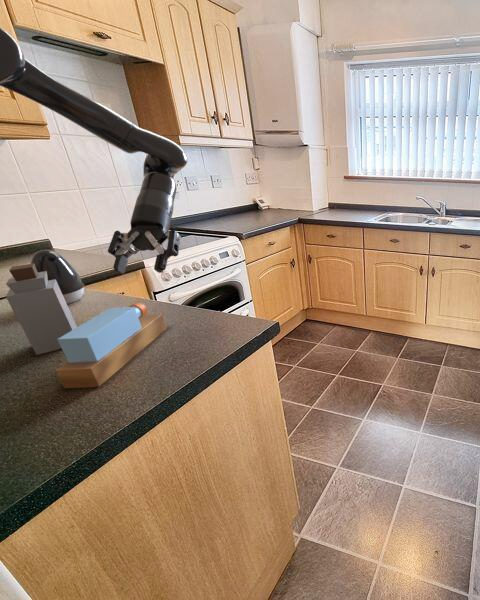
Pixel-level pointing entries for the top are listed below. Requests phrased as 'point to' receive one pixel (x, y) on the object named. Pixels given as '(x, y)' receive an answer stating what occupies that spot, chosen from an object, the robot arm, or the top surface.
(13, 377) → the top surface
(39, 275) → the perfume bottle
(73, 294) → the pump dispenser
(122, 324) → the light blue bottle
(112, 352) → the wooden board
